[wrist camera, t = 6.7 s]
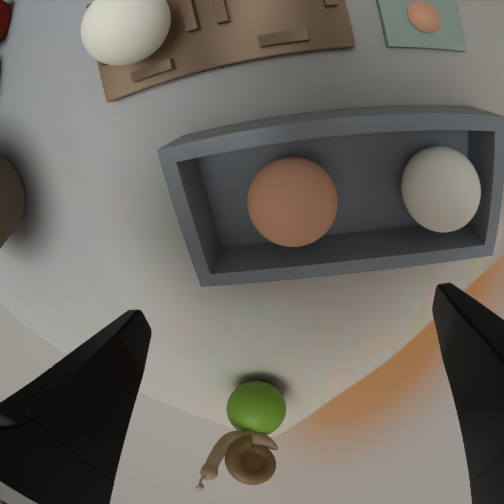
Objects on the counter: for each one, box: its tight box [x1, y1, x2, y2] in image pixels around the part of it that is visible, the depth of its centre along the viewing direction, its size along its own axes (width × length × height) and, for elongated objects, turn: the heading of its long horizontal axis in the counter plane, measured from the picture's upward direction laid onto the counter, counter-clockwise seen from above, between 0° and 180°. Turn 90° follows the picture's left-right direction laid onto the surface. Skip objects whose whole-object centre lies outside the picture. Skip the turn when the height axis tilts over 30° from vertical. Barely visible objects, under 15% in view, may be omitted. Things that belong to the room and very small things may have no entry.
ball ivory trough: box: [401, 146, 481, 232], centre depth 14 cm, size 4×4×4 cm
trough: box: [157, 106, 504, 287], centre depth 16 cm, size 18×8×4 cm, turn 102°
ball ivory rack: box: [81, 0, 171, 66], centre depth 11 cm, size 4×4×4 cm
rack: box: [87, 0, 355, 102], centre depth 12 cm, size 14×7×2 cm, turn 102°
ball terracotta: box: [247, 156, 338, 247], centre depth 15 cm, size 4×4×4 cm
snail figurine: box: [196, 381, 286, 491], centre depth 23 cm, size 5×6×12 cm
